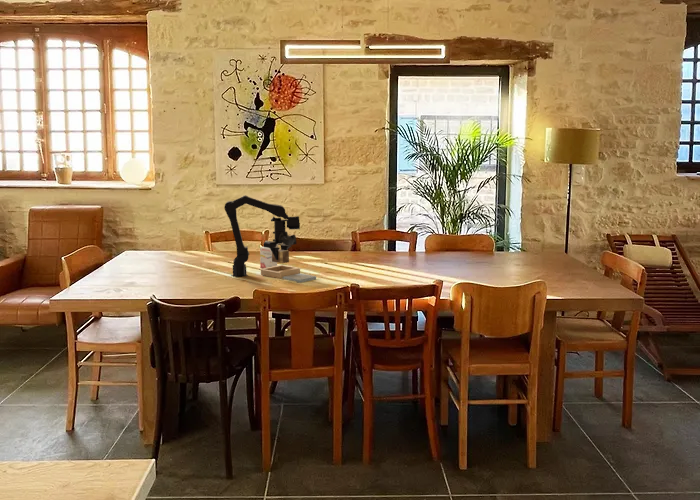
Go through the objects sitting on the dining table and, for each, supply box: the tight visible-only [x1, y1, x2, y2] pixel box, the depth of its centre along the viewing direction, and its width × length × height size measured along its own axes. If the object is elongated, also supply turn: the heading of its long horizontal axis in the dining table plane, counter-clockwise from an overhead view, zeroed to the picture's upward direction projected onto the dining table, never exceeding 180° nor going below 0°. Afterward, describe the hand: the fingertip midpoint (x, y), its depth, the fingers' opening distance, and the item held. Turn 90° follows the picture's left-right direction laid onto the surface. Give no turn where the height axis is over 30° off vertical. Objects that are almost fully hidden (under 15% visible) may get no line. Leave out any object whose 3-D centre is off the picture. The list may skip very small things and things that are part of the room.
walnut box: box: [272, 248, 290, 264], centre depth 390 cm, size 5×8×6 cm, turn 49°
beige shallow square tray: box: [259, 264, 303, 279], centre depth 391 cm, size 16×15×4 cm
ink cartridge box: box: [259, 240, 278, 269], centre depth 411 cm, size 9×5×15 cm, turn 58°
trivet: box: [282, 272, 317, 284], centre depth 381 cm, size 12×12×2 cm
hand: (280, 259), depth 390 cm, fingers closed on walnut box, 4 cm apart
